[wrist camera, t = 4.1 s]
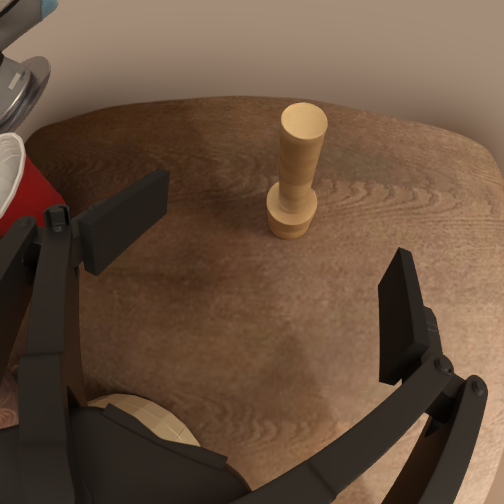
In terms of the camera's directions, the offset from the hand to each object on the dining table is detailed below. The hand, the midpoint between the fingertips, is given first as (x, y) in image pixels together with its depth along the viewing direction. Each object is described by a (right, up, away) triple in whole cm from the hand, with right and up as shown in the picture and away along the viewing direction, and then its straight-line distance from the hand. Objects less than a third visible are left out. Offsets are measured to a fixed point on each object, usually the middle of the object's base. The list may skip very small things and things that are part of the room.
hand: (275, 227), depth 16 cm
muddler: (+2, +2, +13) cm, 13 cm away
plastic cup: (-25, +3, +15) cm, 30 cm away
